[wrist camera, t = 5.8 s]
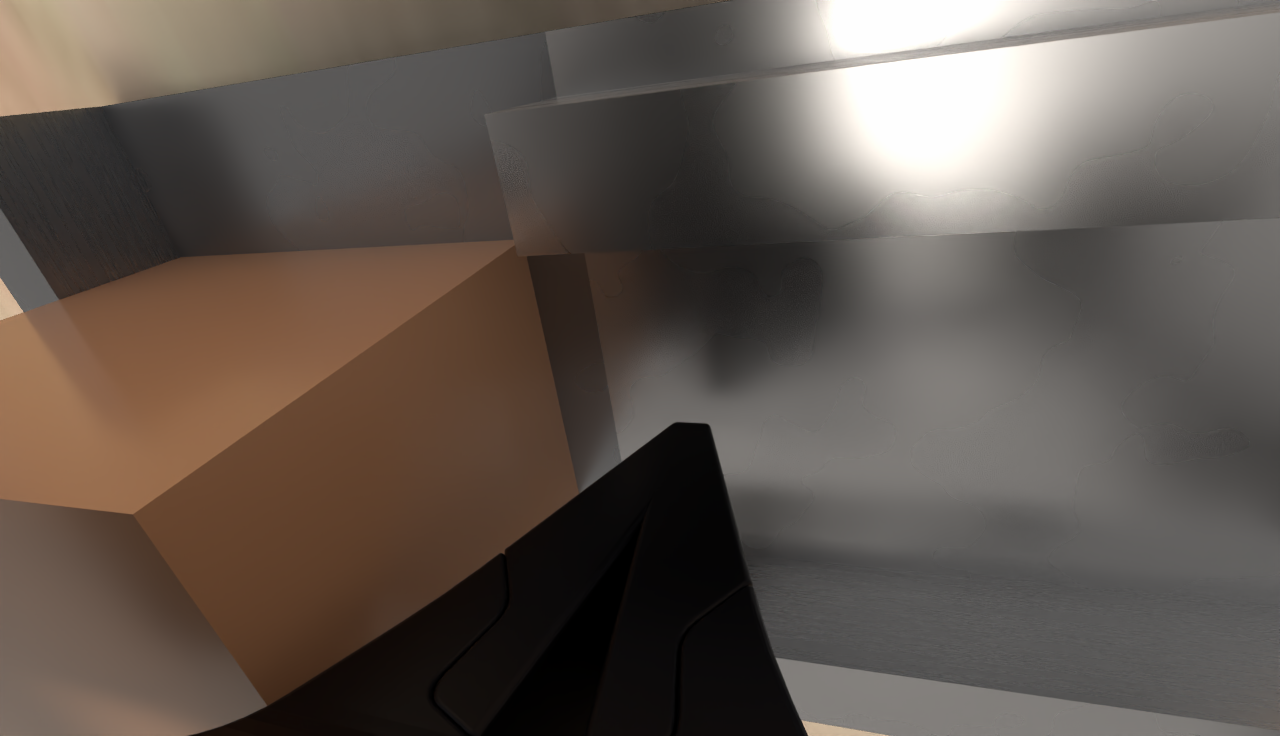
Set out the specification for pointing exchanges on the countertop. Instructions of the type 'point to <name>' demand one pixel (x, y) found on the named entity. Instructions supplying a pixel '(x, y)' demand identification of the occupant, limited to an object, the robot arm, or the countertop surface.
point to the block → (257, 473)
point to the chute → (831, 309)
